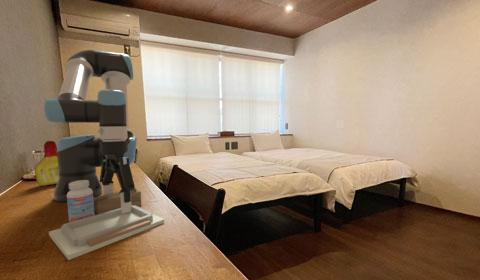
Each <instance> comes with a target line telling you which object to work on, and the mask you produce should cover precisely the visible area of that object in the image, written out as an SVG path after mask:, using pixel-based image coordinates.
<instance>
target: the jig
mask: <svg viewBox="0 0 480 280" xmlns="http://www.w3.org/2000/svg"><path fill="white" fill-rule="evenodd" d="M131 209H132V211H131V212H128V213H125V214H121V208H119V209H115V210H112V211H108V212H105V213H101V214H98V215H94V216H91V217H87V218H84V219H80V220H77V221H73V222H66V223H64V224H63V223H62V225H61V226H60V228H57V229H54V230H50V231H48V236H49V237H50V239H51V240H52V241H53V242H54V244H55V246H56V247H58V249H59V251H61V253H62V254H63V256H65V258H66V259H67V260H68V261H70V260H73V259H75V258H78V257H81V256H83V255H85V254H88V253H90V252H93V251H96V250H98V249H100V248H103V247H106V246H108V245H111V244H113V243H115V242H116V243H117V242H119V241H122V240H123V239H126V238H129V237H131V236H134V235H136V234H137V235H138V234H139V233H142V232H143V231H146V230H149V229H152V228H155V227H156V226H160V225H162V224H165V218H163V217H161V216H158V215H157V214H154V213H152V212H150V211H148V210H146V209H145V208H142V207H141V206H136V205H134V206H133V205H131Z"/></svg>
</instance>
